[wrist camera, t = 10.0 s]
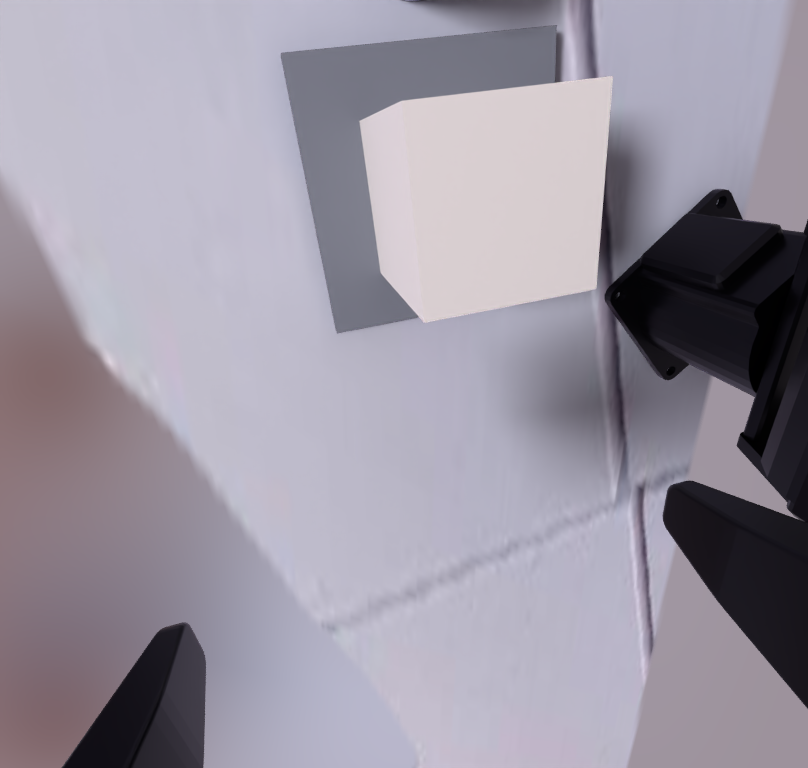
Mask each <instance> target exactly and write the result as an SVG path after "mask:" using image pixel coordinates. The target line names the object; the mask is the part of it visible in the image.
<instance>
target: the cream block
mask: <svg viewBox="0 0 808 768" xmlns="http://www.w3.org/2000/svg"><path fill="white" fill-rule="evenodd" d="M612 82H613V76H609V77H601V78H592V79H584V80H575V81H566V82H558V83H549V84H541V85H532V86H524V87H515V88H506V89H498V90H489V91H481V92H472V93H463V94H455V95H446V96H438V97H429V98H421V99H412V100H403V101H400V102H398V103H396V104H394V105H392V106H390V107H387V108H385V109H383V110H381V111H379V112H377V113H375V114H373V115H371V116H369V117H367V118H364V119H362V120H360V121H359V122H360V129H361V136H362V143H363V151H364V158H365V165H366V172H367V179H368V186H369V193H370V200H371V208H372V215H373V222H374V229H375V236H376V243H377V250H378V258H379V265H380V272H381V274H382V275H383V276H384V278H385V279H386V280H387V281H388V282H389V283H390V284H391V286H392V287H393V288H394V289H395V290H396V291H397V292H398V294H399V295H400V296H401V297H402V298H403V299H404V300H405V302H406V303H407V304H408V305H409V306H410V307H411V308H412V310H413V311H414V312H415V313H416V314H417V315H418V316H419V318H420V319H421V320H422V321H423V322H424V323H427V322H432V321H437V320H442V319H447V318H452V317H457V316H462V315H467V314H472V313H478V312H483V311H488V310H493V309H498V308H503V307H508V306H513V305H518V304H523V303H529V302H534V301H539V300H544V299H549V298H554V297H559V296H564V295H569V294H574V293H580V292H585V291H590V290H595V289H596V286H597V273H598V260H599V248H600V235H601V222H602V210H603V197H604V184H605V171H606V159H607V146H608V133H609V120H610V108H611V95H612Z"/></svg>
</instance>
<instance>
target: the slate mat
mask: <svg viewBox="0 0 808 768" xmlns="http://www.w3.org/2000/svg"><path fill="white" fill-rule="evenodd" d="M556 28H557V25H553V26H543V27H533V28H523V29H513V30H503V31H494V32H484V33H474V34H464V35H454V36H444V37H434V38H424V39H414V40H404V41H394V42H384V43H374V44H365V45H355V46H345V47H335V48H325V49H315V50H305V51H295V52H285V53H281V59H282V64H283V69H284V74H285V79H286V84H287V89H288V94H289V99H290V104H291V109H292V114H293V119H294V124H295V129H296V134H297V139H298V144H299V149H300V154H301V159H302V164H303V169H304V174H305V179H306V184H307V189H308V194H309V199H310V204H311V209H312V213H313V218H314V223H315V228H316V233H317V238H318V243H319V248H320V253H321V258H322V263H323V268H324V273H325V278H326V283H327V288H328V293H329V298H330V303H331V308H332V313H333V318H334V323H335V328H336V331H337V333H341V332H346V331H352V330H357V329H362V328H367V327H372V326H377V325H382V324H387V323H392V322H397V321H402V320H407V319H412V318H417V317H419V316H418V315H417V314H416V313H415V312H414V311H413V310H412V308H411V307H410V306H409V305H408V304H407V303H406V302H405V300H404V299H403V298H402V297H401V296H400V295H399V294H398V292H397V291H396V290H395V289H394V288H393V287H392V286H391V284H390V283H389V282H388V281H387V280H386V279H385V278H384V276H383V275H382V274H381V272H380V265H379V258H378V250H377V243H376V236H375V229H374V222H373V215H372V208H371V200H370V193H369V186H368V179H367V172H366V165H365V158H364V151H363V143H362V136H361V129H360V122H359V121H360V120H362V119H364V118H367V117H369V116H371V115H373V114H375V113H377V112H379V111H381V110H383V109H385V108H387V107H390V106H392V105H394V104H396V103H398V102H400V101H403V100H412V99H421V98H429V97H438V96H446V95H455V94H463V93H472V92H481V91H489V90H498V89H506V88H515V87H524V86H532V85H541V84H549V83H555V66H556Z"/></svg>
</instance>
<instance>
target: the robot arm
mask: <svg viewBox="0 0 808 768" xmlns="http://www.w3.org/2000/svg"><path fill="white" fill-rule="evenodd" d="M718 199H719V202H718V204H717V205H716V203H717V200H718ZM618 292H620V294H619V297H618V298H617V299H615V297H616V294H617V293H618ZM605 301H606V303H607V305H608V306H609V307H610V309H611V310H612V312H613V313H614V315H615V316H616V317H617V319H618V320H619V322H620V323H621V324H622V326H623V327H624V329H625V330H626V331H627V333H628V334H629V336H630V337H631V339H632V340H633V341H634V343H635V344H636V346H637V347H638V348H639V350H640V351H641V353H642V354H643V355H644V357H645V358H646V360H647V361H648V362H649V364H650V365H651V367H652V368H653V370H654V371H655V372H656V374H657V375H658V376H659V377H661V378H663V379H665V380H670V379H673V378H674V377H675V376H677V375H678V374H679V373H680V372H681V371H682V370H683V369H685V368H686V367H687V366H688V365H689V364H690V365H692V366H694V367H696V368H698V369H700V370H702V371H704V372H706V373H708V374H710V375H712V376H714V377H716V378H718V379H720V380H722V381H724V382H726V383H728V384H730V385H732V386H734V387H736V388H738V389H740V390H742V391H744V392H746V393H748V394H750V395H752V396H754V397H755V399H754V402H753V405H752V408H751V411H750V415H749V417H748V421H747V424H746V427H745V430H744V432H742V433H741V434H740V437H739V440H738V443H737V447H738V448H739V449H740V450H741V451H742V453H743V454H744V455H745V456H746V457H747V458H748V459H749V460H750V461H751V462H752V464H753V465H754V466H755V467H756V468H757V469H758V470H759V471H760V472H761V474H762V475H763V476H764V477H765V478H766V479H767V480H768V481H769V482H770V484H771V485H772V486H773V487H774V488H775V489H776V490H777V491H778V492H779V493H780V495H781V496H782V497H783V498H784V499H785V500H786V501H787V502H788V503H787V509H788V510H789V511H790V512H791V513H792V514H793V515H794V516H795V517H797V518H798V519H799V520H798V519H795V518H793V517H790V516H787V515H785V514H782V513H779V512H776V511H774V510H771V509H768V508H765V507H763V506H760V505H757V504H755V503H752V502H749V501H746V500H744V499H741V498H738V497H735V496H733V495H730V494H727V493H725V492H722V491H719V490H716V489H714V488H711V487H708V486H706V485H703V484H700V483H697V482H694V481H684V482H680V483H677V484H673V485H671V486H670V487H669V488H668V490H667V495H666V500H665V506H664V511H663V522H664V525H665V527H666V529H667V530H668V532H669V533H670V535H671V536H672V538H673V539H674V540H675V542H676V543H677V545H678V546H679V547H680V549H681V550H682V552H683V553H684V555H685V556H686V558H687V559H688V560H689V562H690V563H691V565H692V566H693V567H694V569H695V570H696V572H697V573H698V574H699V576H700V577H701V579H702V580H703V582H704V583H705V585H706V586H707V587H708V589H709V590H710V592H711V593H712V594H713V595H714V597H715V598H716V600H717V601H718V602H719V603H720V605H721V606H722V607H723V608H724V610H725V611H726V612H727V613H728V614H729V616H730V617H731V618H732V619H733V620H734V622H735V623H736V624H737V625H738V626H739V628H741V630H742V631H743V632H744V633H745V635H746V636H747V637H748V638H749V639H750V641H751V642H752V643H753V644H754V645H755V646H756V648H757V649H758V650H759V651H760V653H761V654H762V655H763V656H764V657H765V658H766V660H767V661H768V662H769V663H770V664H771V666H772V667H773V668H774V669H775V670H776V671H777V673H778V674H779V675H780V676H781V677H782V678H783V680H784V681H785V682H786V683H787V685H788V686H789V687H790V688H791V689H792V691H793V692H794V693H795V694H796V695H797V696H798V698H799V699H800V700H801V701H802V702H803V704H804V705H805V706H806V707H807V708H808V221H807V224H806V227H805V230H804V233H803V232H795V231H788V230H782V229H781V227H780V225H777V224H771V223H763V222H756V221H748V220H743V219H742V217H741V214H740V212H739V210H738V208H737V205H736V203H735V201H734V199H733V196H732V194H731V193H730V191H729V190H725V189H715V190H712V191H711V192H710V193H709V194H707V195H706V196H705V197H704V198H703V199H702V200H701V201H700V202H699V203H698V204H697V205H696V206H695V207H694V208H693V209H692V210H690V211H689V212H688V213H687V214H686V215H684V216H683V217H682V218H681V219H680V220H679V221H678V222H677V223H676V224H675V225H674V226H673V227H672V228H671V229H670V230H669V231H667V232H666V233H665V234H664V235H663V236H662V237H661V238H660V239H659V240H658V241H657V242H656V243H655V244H654V245H653V246H652V247H651V248H649V249H648V250H647V251H646V252H645V253H644V254H643V255H642V257H641V258H640V259H638V260H637V261H636V262H635V263H634V264H633V265H632V266H631V267H630V268H629V269H628V270H627V271H626V272H625V273H624V274H623V275H622V276H620V277H619V278H618V279H617V280H616V281H615V282H614V283H613V284H612V285H611V286H610V287H609V288H608V289H607V291H606V293H605ZM668 368H669V369H668ZM667 369H668V370H667ZM205 685H206V660H205V655H204V651H203V649H202V647H201V645H200V643H199V642H198V640H197V638H196V636H195V634H194V632H193V630H192V628H191V627H190V625H189V624H188V623H186V622H184V623H179V624H175V625H172V626H168V627H165V628H162V629H161V630H160V631H159V632H157V634H156V635H155V636H154V638H153V639H152V640H151V642H150V643H149V645H148V646H147V648H146V649H145V650H144V652H143V653H142V655H141V656H140V658H139V659H138V661H137V662H136V663H135V665H134V666H133V667H132V669H131V670H130V672H129V673H128V674H127V676H126V677H125V679H124V680H123V682H122V683H121V685H120V686H119V687H118V689H117V690H116V692H115V693H114V694H113V696H112V697H111V699H110V700H109V702H108V703H107V704H106V706H105V707H104V709H103V710H102V711H101V713H100V714H99V716H98V717H97V718H96V720H95V721H94V723H93V724H92V726H91V727H90V728H89V730H88V731H87V733H86V734H85V736H84V737H83V738H82V740H81V741H80V743H79V744H78V745H77V747H76V748H75V750H74V751H73V753H72V754H71V755H70V757H69V758H68V760H67V761H66V762H65V764H64V765H63V767H62V768H203V761H204V727H205Z"/></svg>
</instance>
